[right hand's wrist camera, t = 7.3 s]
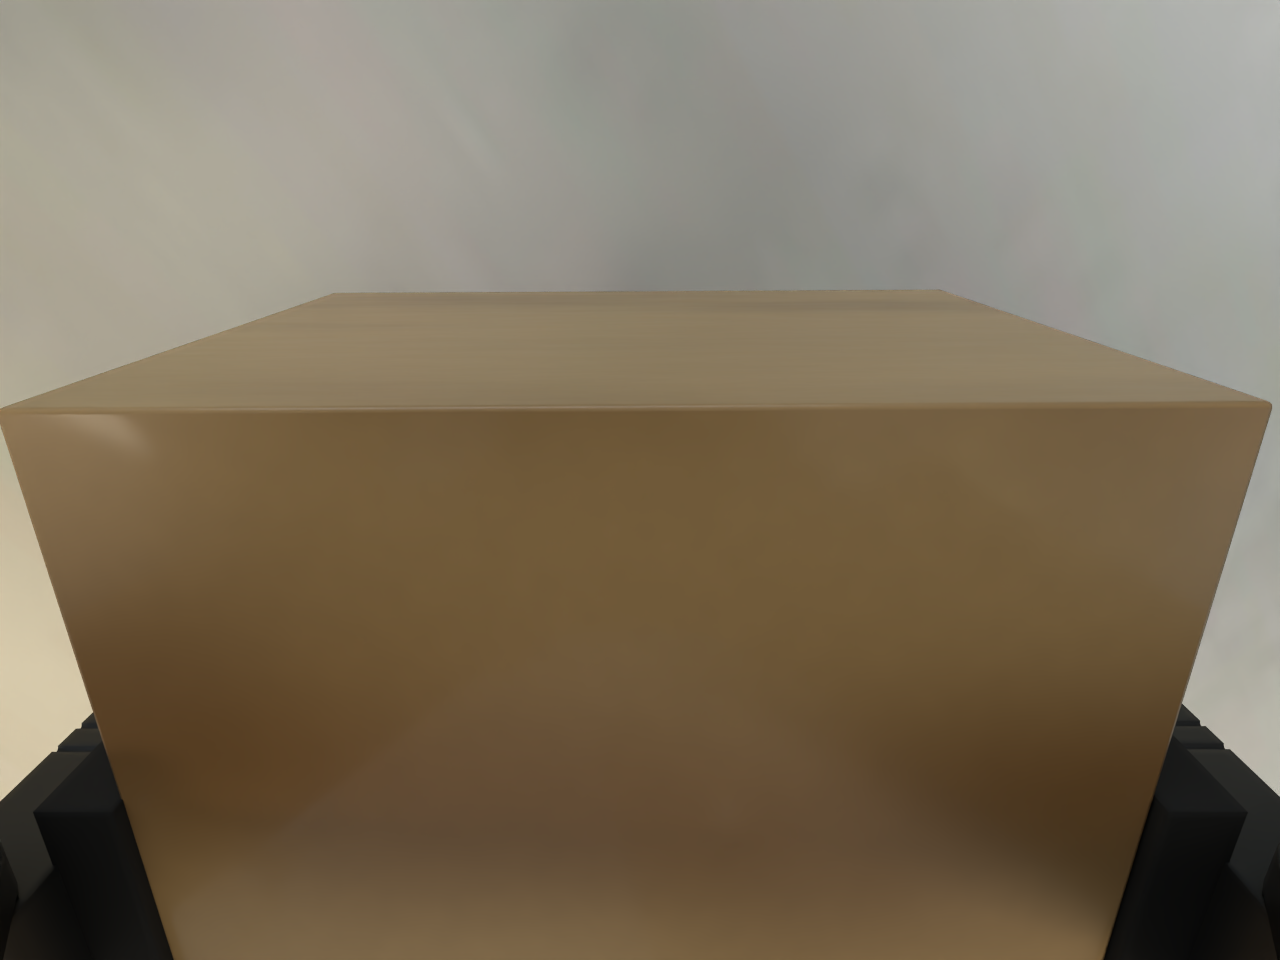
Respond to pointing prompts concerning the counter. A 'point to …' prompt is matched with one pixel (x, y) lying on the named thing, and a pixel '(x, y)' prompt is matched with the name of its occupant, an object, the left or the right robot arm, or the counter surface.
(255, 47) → the counter surface
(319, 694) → the long beam
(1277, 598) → the counter surface
